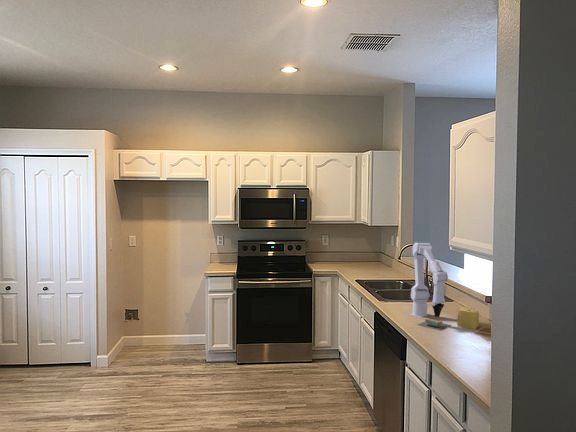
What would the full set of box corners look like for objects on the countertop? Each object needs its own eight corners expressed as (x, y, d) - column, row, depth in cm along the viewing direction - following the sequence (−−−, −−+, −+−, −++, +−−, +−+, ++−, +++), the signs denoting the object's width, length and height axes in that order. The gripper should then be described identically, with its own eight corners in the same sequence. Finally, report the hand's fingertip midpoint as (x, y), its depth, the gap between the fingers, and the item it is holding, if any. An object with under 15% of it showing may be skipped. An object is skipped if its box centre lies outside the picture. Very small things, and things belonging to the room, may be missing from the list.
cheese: (478, 326, 271) (480, 309, 271) (475, 330, 262) (477, 312, 262) (459, 322, 277) (461, 306, 276) (456, 327, 267) (457, 309, 267)
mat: (428, 320, 277) (428, 319, 277) (452, 326, 268) (452, 325, 268) (416, 325, 265) (416, 324, 265) (441, 331, 256) (441, 330, 256)
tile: (430, 318, 270) (425, 319, 265) (442, 321, 266) (437, 322, 261) (429, 323, 270) (424, 323, 265) (441, 326, 266) (437, 326, 260)
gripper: (440, 295, 259) (438, 320, 260) (450, 292, 271) (448, 315, 271) (428, 293, 264) (426, 317, 265) (438, 290, 275) (436, 313, 276)
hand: (437, 316), depth 268 cm, fingers closed
